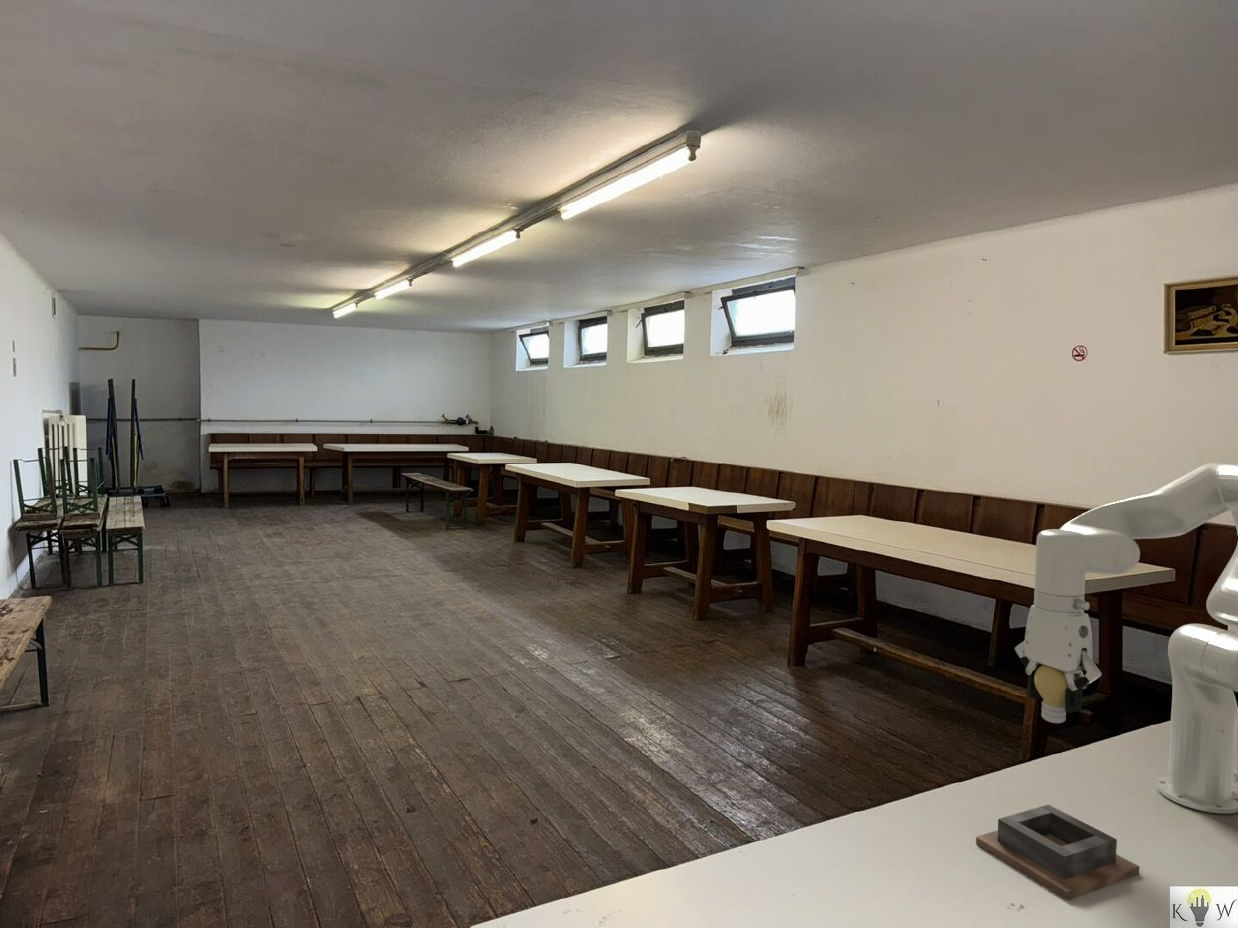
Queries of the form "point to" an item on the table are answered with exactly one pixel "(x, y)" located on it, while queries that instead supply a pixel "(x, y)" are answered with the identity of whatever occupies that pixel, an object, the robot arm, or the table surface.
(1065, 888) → the lamp socket
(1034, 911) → the table surface
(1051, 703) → the light bulb
